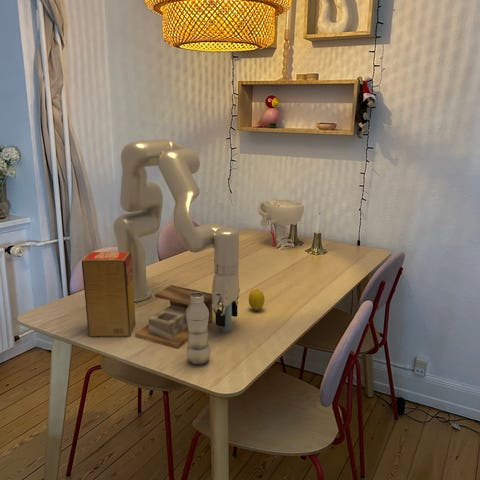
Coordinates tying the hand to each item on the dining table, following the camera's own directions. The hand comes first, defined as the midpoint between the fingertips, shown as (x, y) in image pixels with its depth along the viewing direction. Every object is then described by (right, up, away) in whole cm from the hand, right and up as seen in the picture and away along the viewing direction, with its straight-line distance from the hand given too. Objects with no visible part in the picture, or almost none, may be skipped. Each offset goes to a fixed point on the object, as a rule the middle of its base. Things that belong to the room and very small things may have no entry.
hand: (226, 320), depth 146 cm
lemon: (+10, +1, +16) cm, 18 cm away
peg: (0, -3, +1) cm, 3 cm away
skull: (+24, +22, +90) cm, 95 cm away
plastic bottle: (-7, -9, -17) cm, 20 cm away
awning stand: (-17, -3, +2) cm, 17 cm away
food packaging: (-36, -3, +1) cm, 36 cm away
